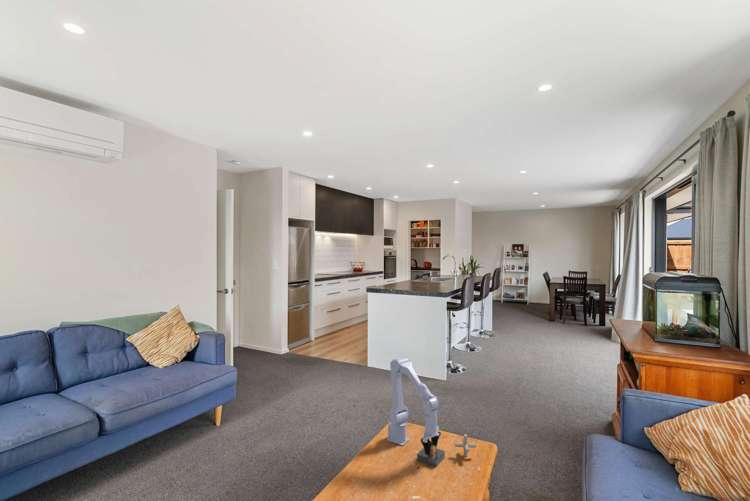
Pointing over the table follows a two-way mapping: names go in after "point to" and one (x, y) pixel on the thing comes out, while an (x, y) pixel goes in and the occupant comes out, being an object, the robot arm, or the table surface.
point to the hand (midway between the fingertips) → (431, 450)
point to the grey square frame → (431, 457)
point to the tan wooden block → (433, 450)
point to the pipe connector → (465, 445)
